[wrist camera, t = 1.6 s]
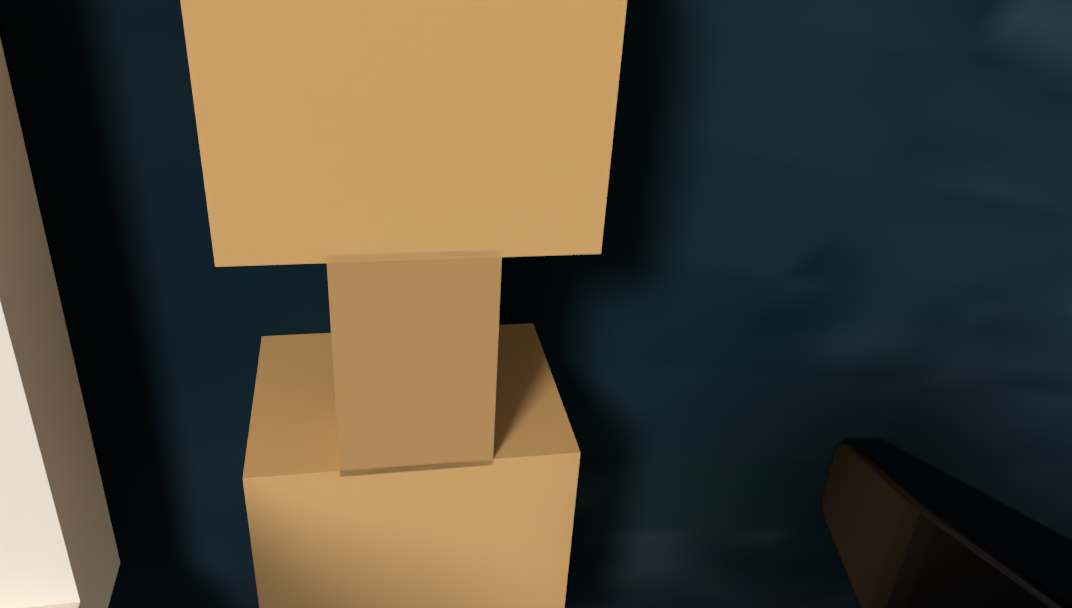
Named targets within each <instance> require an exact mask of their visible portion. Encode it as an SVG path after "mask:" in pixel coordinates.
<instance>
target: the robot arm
mask: <svg viewBox="0 0 1072 608" xmlns="http://www.w3.org/2000/svg"><path fill="white" fill-rule="evenodd" d="M822 511H823V516H824V519H825V522H826V524H827V527H828V529H829V532H830V534H831V537H832V539H833V542H834V544H835V547H836V549H837V552H838V554H839V557H840V559H841V562H842V564H843V567H844V569H845V572H846V574H847V577H848V579H849V582H850V584H851V587H852V589H853V592H854V594H855V597H856V599H857V602H858V604H859V607H860V608H1072V540H1071V539H1069V538H1067V537H1066V536H1064V535H1062V534H1060V533H1058V532H1056V531H1054V530H1053V529H1051V528H1049V527H1047V526H1045V525H1043V524H1041V523H1039V522H1038V521H1036V520H1034V519H1032V518H1030V517H1028V516H1026V515H1024V514H1023V513H1021V512H1019V511H1017V510H1015V509H1013V508H1011V507H1009V506H1008V505H1006V504H1004V503H1002V502H1000V501H998V500H996V499H995V498H993V497H991V496H989V495H987V494H985V493H983V492H981V491H980V490H978V489H976V488H974V487H972V486H970V485H968V484H966V483H965V482H963V481H961V480H959V479H957V478H955V477H953V476H952V475H950V474H948V473H946V472H944V471H942V470H940V469H938V468H937V467H935V466H933V465H931V464H929V463H927V462H925V461H923V460H922V459H920V458H918V457H916V456H914V455H912V454H910V453H909V452H907V451H905V450H903V449H901V448H899V447H897V446H895V445H894V444H892V443H890V442H888V441H886V440H884V439H882V438H880V437H877V436H863V437H851V438H845V439H843V440H841V441H840V442H839V443H838V444H837V445H836V448H835V450H834V454H833V457H832V461H831V464H830V468H829V472H828V475H827V479H826V483H825V486H824V490H823V494H822Z"/></svg>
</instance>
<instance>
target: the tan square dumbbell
mask: <svg viewBox="0 0 1072 608" xmlns="http://www.w3.org/2000/svg"><path fill="white" fill-rule="evenodd" d="M181 8H182V16H183V24H184V31H185V39H186V47H187V54H188V62H189V70H190V77H191V85H192V93H193V100H194V108H195V116H196V124H197V131H198V139H199V147H200V154H201V162H202V170H203V177H204V185H205V193H206V200H207V208H208V216H209V224H210V231H211V239H212V247H213V254H214V262H215V267H224V266H254V265H284V264H315V263H327V275H328V291H329V307H330V323H331V333H320V334H299V335H278V336H262V339H261V347H260V354H259V361H258V369H257V376H256V384H255V391H254V398H253V406H252V413H251V420H250V428H249V435H248V442H247V450H246V457H245V465H244V472H243V485H244V493H245V500H246V508H247V516H248V524H249V531H250V539H251V547H252V554H253V562H254V570H255V577H256V585H257V593H258V600H259V608H565V598H566V588H567V579H568V569H569V559H570V550H571V540H572V530H573V521H574V511H575V501H576V492H577V482H578V472H579V463H580V453H581V452H580V450H579V447H578V444H577V441H576V439H575V436H574V433H573V430H572V428H571V425H570V422H569V420H568V417H567V414H566V411H565V409H564V406H563V403H562V400H561V398H560V395H559V392H558V390H557V387H556V384H555V381H554V379H553V376H552V373H551V370H550V368H549V365H548V362H547V360H546V357H545V354H544V351H543V349H542V346H541V343H540V340H539V338H538V335H537V332H536V330H535V327H534V324H533V323H527V324H506V325H499V314H500V291H501V268H502V257H526V256H556V255H586V254H601V250H602V240H603V231H604V221H605V211H606V202H607V192H608V182H609V173H610V163H611V153H612V144H613V134H614V124H615V115H616V105H617V95H618V86H619V76H620V66H621V57H622V47H623V37H624V28H625V18H626V8H627V0H181Z"/></svg>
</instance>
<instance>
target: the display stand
mask: <svg viewBox="0 0 1072 608" xmlns="http://www.w3.org/2000/svg"><path fill="white" fill-rule="evenodd" d="M119 566H120V559H119V555H118V550H117V546H116V542H115V537H114V533H113V528H112V524H111V520H110V515H109V511H108V507H107V502H106V498H105V493H104V489H103V485H102V480H101V476H100V472H99V467H98V463H97V458H96V454H95V450H94V445H93V441H92V437H91V432H90V428H89V423H88V419H87V415H86V410H85V406H84V402H83V397H82V393H81V388H80V384H79V380H78V375H77V371H76V367H75V362H74V358H73V353H72V349H71V345H70V340H69V336H68V332H67V327H66V323H65V318H64V314H63V310H62V305H61V301H60V297H59V292H58V288H57V283H56V279H55V275H54V270H53V266H52V262H51V257H50V253H49V248H48V244H47V240H46V235H45V231H44V227H43V222H42V218H41V213H40V209H39V205H38V200H37V196H36V192H35V187H34V183H33V178H32V174H31V170H30V165H29V161H28V157H27V152H26V148H25V143H24V139H23V135H22V130H21V126H20V122H19V117H18V113H17V108H16V104H15V100H14V95H13V91H12V87H11V82H10V78H9V73H8V69H7V65H6V60H5V56H4V52H3V47H2V43H1V38H0V608H108V606H109V602H110V598H111V595H112V591H113V587H114V584H115V580H116V577H117V573H118V569H119Z"/></svg>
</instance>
